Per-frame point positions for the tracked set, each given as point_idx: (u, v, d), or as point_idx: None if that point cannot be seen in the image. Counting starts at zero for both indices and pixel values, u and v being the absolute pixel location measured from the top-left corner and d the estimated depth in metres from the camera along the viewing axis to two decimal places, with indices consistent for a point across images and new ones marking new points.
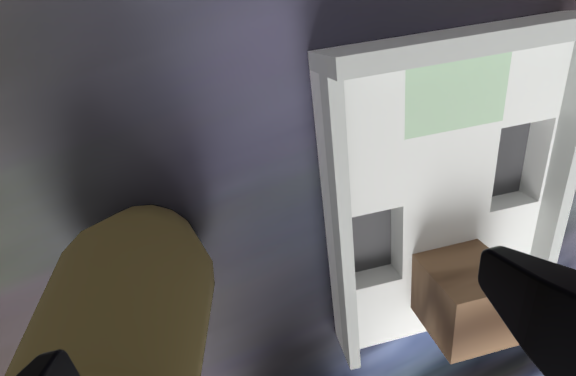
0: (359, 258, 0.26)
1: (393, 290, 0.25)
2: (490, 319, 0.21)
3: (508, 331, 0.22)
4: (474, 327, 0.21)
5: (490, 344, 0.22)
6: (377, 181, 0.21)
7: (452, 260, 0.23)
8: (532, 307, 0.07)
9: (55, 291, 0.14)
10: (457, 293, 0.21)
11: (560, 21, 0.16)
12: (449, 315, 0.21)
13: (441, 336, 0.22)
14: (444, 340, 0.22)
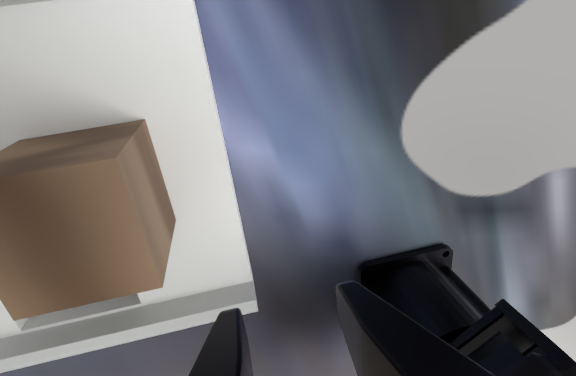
0: None
1: None
2: (43, 251, 0.11)
3: (75, 203, 0.11)
4: (66, 275, 0.12)
5: (113, 230, 0.11)
6: None
7: None
8: (362, 352, 0.06)
9: None
10: None
11: None
12: None
13: None
14: None
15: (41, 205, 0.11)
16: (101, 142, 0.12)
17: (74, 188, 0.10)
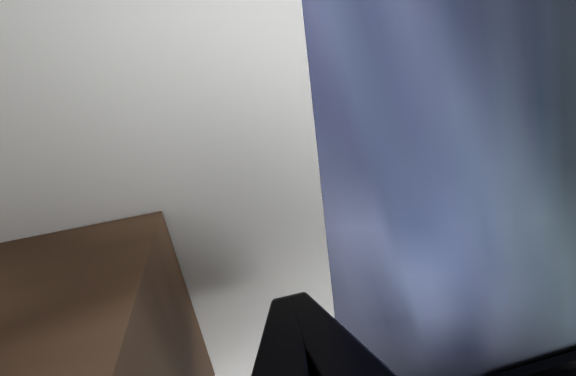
0: None
1: None
2: None
3: None
4: None
5: None
6: None
7: None
8: None
9: None
10: None
11: None
12: None
13: None
14: None
15: None
16: (52, 326, 0.05)
17: None
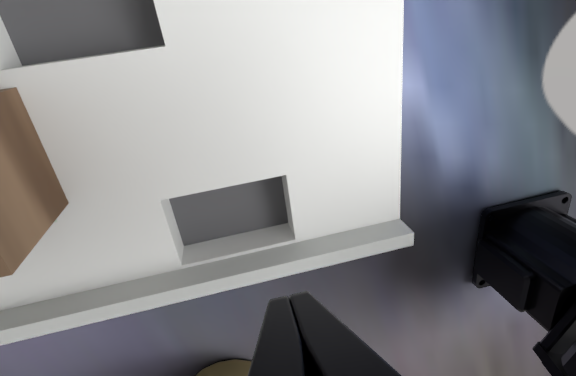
0: (264, 207, 0.19)
1: (305, 183, 0.17)
2: None
3: None
4: None
5: None
6: (124, 241, 0.17)
7: None
8: (307, 366, 0.06)
9: None
10: None
11: None
12: None
13: None
14: None
15: None
16: None
17: None
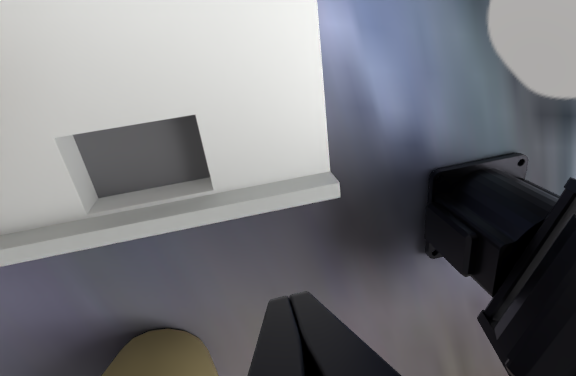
0: (185, 158, 0.18)
1: (218, 126, 0.16)
2: None
3: None
4: None
5: None
6: (19, 184, 0.15)
7: None
8: (307, 366, 0.06)
9: None
10: None
11: None
12: None
13: None
14: None
15: None
16: None
17: None
